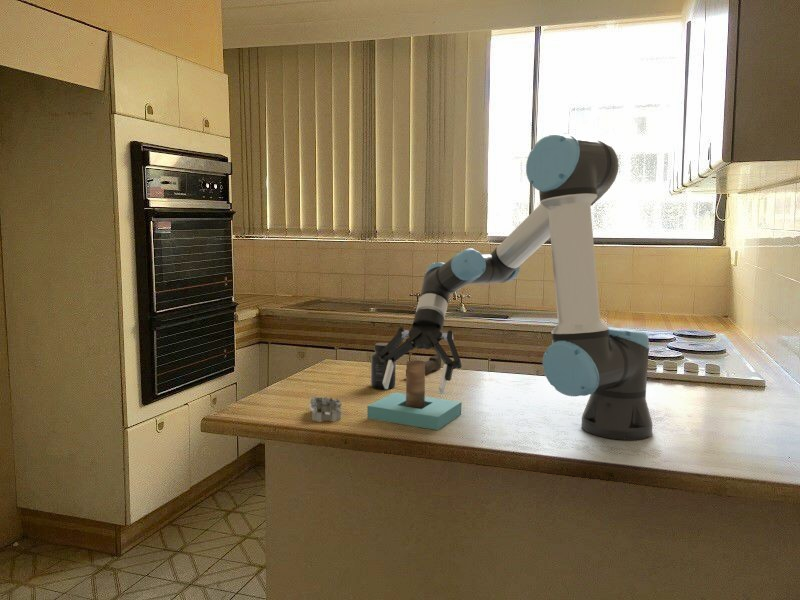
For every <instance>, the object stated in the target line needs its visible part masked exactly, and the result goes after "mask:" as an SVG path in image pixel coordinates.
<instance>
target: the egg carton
mask: <svg viewBox="0 0 800 600" xmlns="http://www.w3.org/2000/svg"><path fill="white" fill-rule="evenodd" d="M342 405H343V403H342V402H341V401H340V399H339V398H336V399H333V398H332V397H323V396H320V397H316V396H314V395H313V396H311V398H310V402H309V409H310V410H311V421H313V422H314V421H316V423H317V422H318V423H322V422H323V421H331V422H337V421H340V420H342V410H341V409H342V408H341V407H342ZM318 410H321V411H320V412H319V411H318Z"/></svg>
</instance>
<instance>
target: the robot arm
mask: <svg viewBox="0 0 800 600" xmlns="http://www.w3.org/2000/svg"><path fill="white" fill-rule="evenodd" d="M525 170H526V171H525V173H526V177H527V180H528V182H529V183H530V184H531V185H532V187H533V188H535V189H536V190H537V191H538V194H539V203H540V204H539V205H537V206H536V208H535V209H534V210H533V211H532V212H531V213H530V214H529V215H528V216H526V218H525V219H524V220H523V221H521V222H520V224H519V225H517V226H516V228H514V230H513V231H512V232H511V233H510V234H509V235H508V236H507V237H506V238H504V240H503V241H502V242H500V244H499V245H498V246H497V247H496V248H494V249H493V250H492V251H491V252H490V253H485V254H482V253H481V252H480V251H478V250H475V249H474V248H469V247H468V248H466V249H463V250H462V251H460V252H458V253H456V254H455V255H454V256H453V257H452V258H450V259H448V261H446V262H441V261H438V262H436V263H435V262H433V263H431V264H430V265H429V266H427V268H426V272H425V274H424V276H423V280H422V281H423V282H422V285H421V290H420V294H419V298H418V302H417V305H416V310H415V313H414V317H413V322H412V325H411V328H410V329H409V330H408V329H404V328H403V327H401V326H400V327H398V329H397V332H396V334H395V335H394V336H393V338H392V339H391V340H390V341H389V342H387V343H388V344H387V345H386V346H385V348H384V349H383V350H382V351H381V352H380V353H379V355H378V356H379V358H380V361H381V362H384V365H383V369H382V372H383V375H384V379H383V386H384V388H385V389H384V390H389V389H388V387H389V383H390V379H391V375H392V372H393V368H394V365H393V363H394V362H395V361H397V360H399V359H400V358H401V357H403V356H404V355H406V354H407V353H408V352H409V351H413V350H414V349H416V348H417V349H425V350H431V348H432V349H434V352H436V353H437V355H439V356H440V357H441V361H443V363H444V364H443V366H442V371H441V376H440V381H439V385H438V390H439V393H440V395H445V391H446V385H447V381H448V382H449V381H451V380H452V376H453V372H454V370H455V369H461V368H462V362H461V359H460V358H461V357H460V356H459V353H458V351H457V347H456V345H455V343H454V334H453V333H454V332H453V331H452V330H451V329H449V330H447V332H443V330H444V329H443V328H444V325H445V319H446V315H447V314H446V313H447V310H448V306H449V302H450V297H451V295H452V294H454V293H456V292H458V291H459V290H460V289H462V288H464V287H465V286H468V285H469V286H470V285H471V286H472V285H481V284H483V285H484V284H495V283H496V284H498V283H499V284H503V283H506V282H511V281H513V280H516V278H517V277H518V274H519V272H520V266H521V265H522V264H523V263H524V262H525V261H526V260H528V258H530V257H531V256H532V255H533V254H534V253H535V252H536V251H537V250H538V249H540V247H542V246H543V245H544V244H545V243H546V242H548V241H549V239H550V245H551V257H552V259H551V260H552V266H553V267H552V269H553V271H552V272H553V280H554V291H555V292H554V293H555V304H556V316H557V324H555V327H554V328H553V329H552V330H551V344H550V345H548V347H546V350H545V351H544V353H543V357H542V368H543V372H544V376H545V378H546V379H547V381H548V382H549V383H550V385H551V386H552V387H554V389H555V390H556V391H557V392H559V393H560V394H563V395H565V396H566V397H567V396H568V397H580V396H584V397H586V396H588V395H589V397H588V401H587V402H586V405H585V408H584V411H583V412H582V416H581V425H580V426H581V429H583V430H584V431H585V432H587V433H589V434H591V435H594V436H597V437H601V438H606V439H611V440H621V441H634V440H636V441H637V440H643V439H646V438H649V437H650V436H652V435H653V421H652V417H651V414H650V410H649V406H648V402H647V399H646V398H647V397H646V396H647V381H648V365H649V352H650V345H649V342H650V340H649V338H650V337H649V335H648V334H647V333H646V332H643V331H641V330H635V329H628V328H622V327H611V326H607V324H605V323H603V322H602V320H601V315H600V313H601V312H600V301H599V292H598V291H599V290H598V289H599V288H598V280H597V279H598V278H597V268H596V255H595V254H596V253H595V243H594V242H595V241H594V233H593V221H592V211H591V210H592V209H591V207H592V206H593V205H594V204H595V203H596V202H597V201H599V200H600V199H601V198H602V197H603V196H604V195H605V194H606V193H607V192H608V191H609V189H610V188H611V187H612V185H614V182H615V181H616V179H617V177H618V176H617V175H618V172H619V159H618V155H617V153H616V151H615V149H614V148H613V147H612V146H611V145H610V144H609V143H608V142H607V141H605V140H602V139H600V138H596V137H586V136H581V135H580V136H579V135H574V134H571V133H566V132H565V133H552V134H548V135H545V136H544V137H542V138H541V139H539V140H538V141H537V142H536V143H535V144H534V146H533V148H532V149H531V150H530V152H529V154H528V157H527V160H526V165H525ZM407 337H408V338H407ZM443 339H444V342H446V343H448V347H449V349H450V350H449V351H450V352H451V355H452V359H453V360H452V359H451V358H450V356H449V355H448V354H447V352H446V350H444V348H443V347H442V346H441V344H440V342H441V341H442V340H443ZM404 340H405V341H404ZM403 341H404V342H403ZM402 342H403V343H402Z"/></svg>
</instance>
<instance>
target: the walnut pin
mask: <svg viewBox="0 0 800 600" xmlns="http://www.w3.org/2000/svg"><path fill="white" fill-rule="evenodd" d="M425 362H426V361H423V360H407V361H406V370H405V377H406V380H405V381H406V382H405V394H406V407H411V408H418V409H423V408H424V407H425V397H426V396H425V395H426V394H425V393H426V391H425V390H426V374H425Z"/></svg>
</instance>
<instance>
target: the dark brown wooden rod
mask: <svg viewBox="0 0 800 600" xmlns="http://www.w3.org/2000/svg"><path fill="white" fill-rule="evenodd" d="M424 362H425V375H427V374H428V373H430V372H437V371H439V370H440V369H441V368H442V359H441V357H440V356H439V355H438V354H435V355H433V356H430V357H428V360H426V361H424Z"/></svg>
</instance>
